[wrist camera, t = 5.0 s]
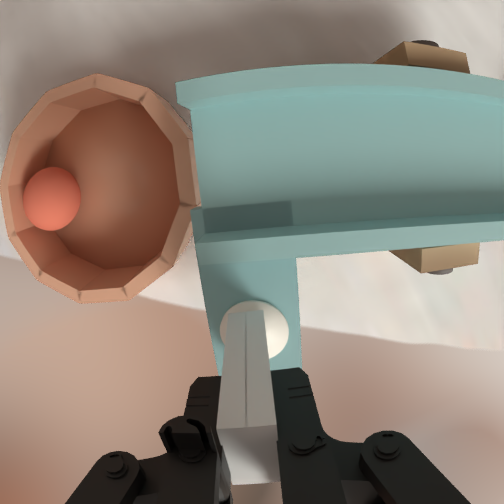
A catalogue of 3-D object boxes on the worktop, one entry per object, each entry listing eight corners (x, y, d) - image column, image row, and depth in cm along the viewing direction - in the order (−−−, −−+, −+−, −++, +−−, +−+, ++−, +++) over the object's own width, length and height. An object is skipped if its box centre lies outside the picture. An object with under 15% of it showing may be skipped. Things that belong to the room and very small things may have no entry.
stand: (270, 76, 18) (288, 14, 9) (435, 81, 18) (521, 55, 9) (288, 247, 21) (317, 309, 12) (445, 230, 21) (530, 269, 12)
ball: (83, 161, 19) (33, 174, 18) (65, 159, 15) (8, 175, 14) (92, 219, 20) (42, 230, 19) (75, 229, 16) (19, 241, 15)
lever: (183, 97, 12) (153, 80, 9) (558, 108, 10) (596, 107, 7) (225, 379, 16) (213, 423, 13) (542, 330, 14) (570, 355, 10)
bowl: (32, 119, 18) (-6, 115, 13) (194, 74, 18) (180, 51, 13) (58, 282, 21) (26, 306, 17) (217, 266, 21) (209, 294, 17)
